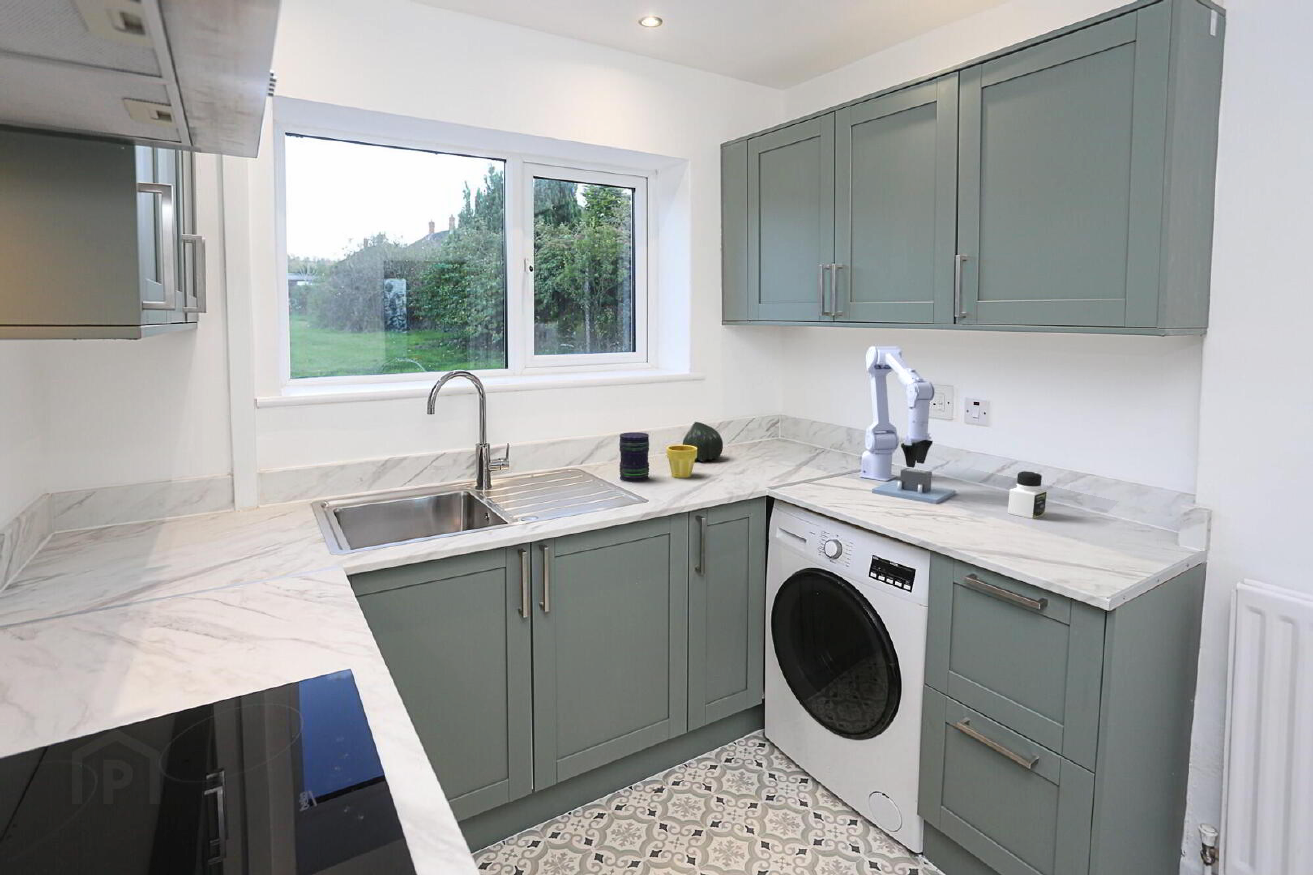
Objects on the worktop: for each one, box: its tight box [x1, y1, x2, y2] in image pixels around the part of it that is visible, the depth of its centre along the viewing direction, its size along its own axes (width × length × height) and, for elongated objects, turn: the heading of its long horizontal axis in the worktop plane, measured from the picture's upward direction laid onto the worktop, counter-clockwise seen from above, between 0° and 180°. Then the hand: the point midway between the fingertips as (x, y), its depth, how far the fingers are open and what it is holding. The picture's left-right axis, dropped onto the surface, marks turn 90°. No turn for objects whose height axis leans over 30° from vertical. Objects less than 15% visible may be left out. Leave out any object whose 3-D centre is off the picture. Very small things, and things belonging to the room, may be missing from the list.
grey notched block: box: [899, 467, 933, 493], centre depth 233 cm, size 8×4×6 cm, turn 50°
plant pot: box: [666, 444, 697, 479], centre depth 256 cm, size 10×10×10 cm
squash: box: [682, 421, 724, 462], centre depth 282 cm, size 14×15×15 cm
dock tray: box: [871, 479, 957, 505], centre depth 233 cm, size 20×16×4 cm
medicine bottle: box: [1007, 470, 1047, 520], centre depth 210 cm, size 7×7×12 cm
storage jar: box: [619, 432, 650, 483], centre depth 250 cm, size 10×10×15 cm
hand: (915, 465), depth 232 cm, fingers open, 7 cm apart
